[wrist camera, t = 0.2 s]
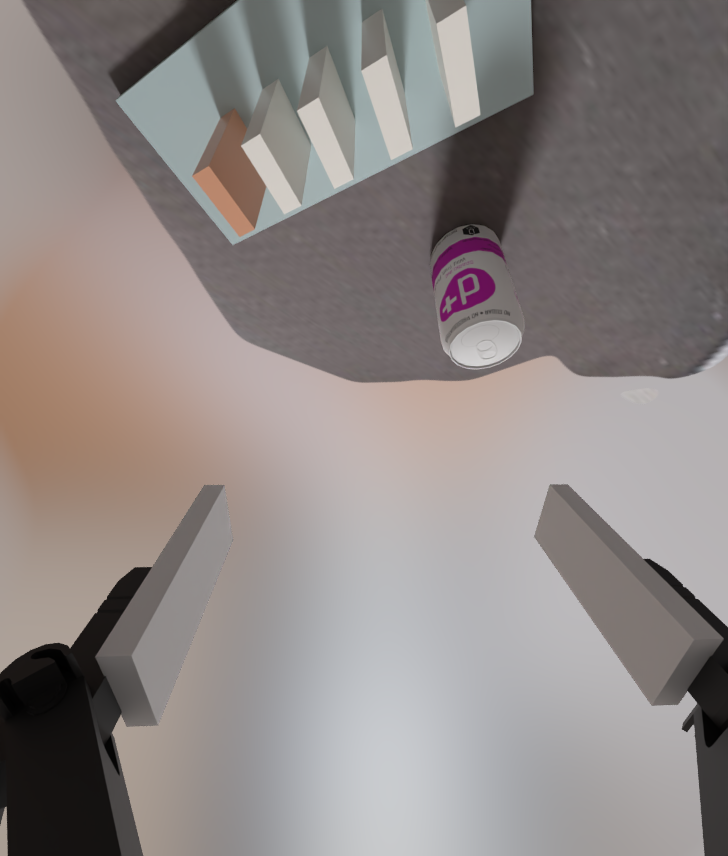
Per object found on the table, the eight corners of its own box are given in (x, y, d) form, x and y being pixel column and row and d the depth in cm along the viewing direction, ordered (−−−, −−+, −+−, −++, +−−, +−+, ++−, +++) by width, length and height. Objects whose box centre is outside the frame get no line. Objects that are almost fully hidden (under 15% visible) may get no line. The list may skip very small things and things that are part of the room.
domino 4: (386, 102, 30) (390, 160, 25) (361, 22, 26) (361, 71, 21) (404, 92, 29) (412, 149, 24) (382, 8, 25) (386, 55, 20)
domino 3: (339, 129, 31) (334, 189, 26) (309, 57, 27) (296, 110, 22) (355, 120, 31) (353, 179, 26) (327, 45, 27) (318, 97, 22)
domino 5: (439, 72, 28) (455, 127, 23) (421, -19, 24) (436, 23, 19) (459, 61, 28) (480, 114, 23) (444, -34, 24) (466, 5, 19)
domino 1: (257, 176, 35) (239, 237, 30) (220, 117, 31) (192, 176, 26) (271, 168, 34) (254, 229, 29) (234, 108, 30) (208, 165, 25)
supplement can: (418, 245, 42) (430, 338, 34) (488, 205, 38) (518, 301, 31) (444, 293, 48) (458, 381, 40) (506, 263, 44) (536, 354, 36)
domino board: (120, 95, 30) (115, 100, 30) (519, -230, 19) (524, -231, 18) (234, 238, 41) (232, 245, 41) (530, 88, 30) (533, 94, 29)
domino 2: (296, 154, 33) (284, 214, 28) (262, 89, 29) (240, 145, 24) (311, 146, 32) (301, 205, 27) (278, 78, 28) (260, 133, 23)
